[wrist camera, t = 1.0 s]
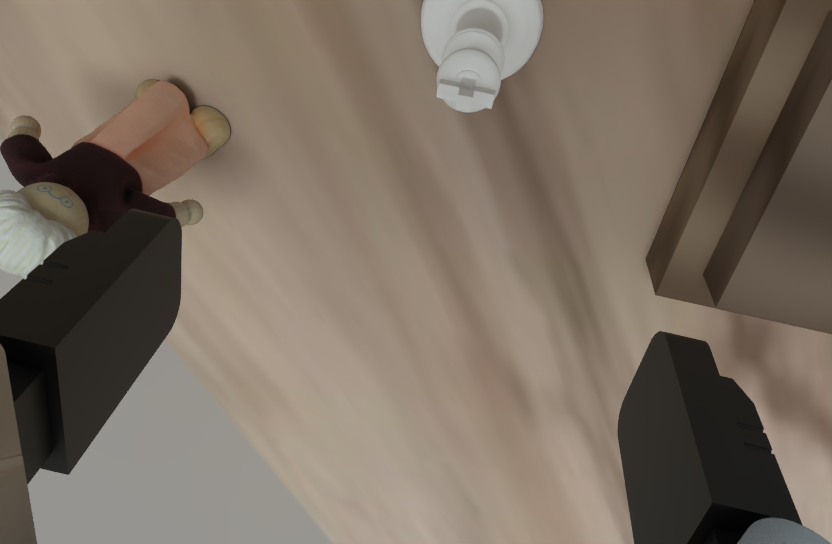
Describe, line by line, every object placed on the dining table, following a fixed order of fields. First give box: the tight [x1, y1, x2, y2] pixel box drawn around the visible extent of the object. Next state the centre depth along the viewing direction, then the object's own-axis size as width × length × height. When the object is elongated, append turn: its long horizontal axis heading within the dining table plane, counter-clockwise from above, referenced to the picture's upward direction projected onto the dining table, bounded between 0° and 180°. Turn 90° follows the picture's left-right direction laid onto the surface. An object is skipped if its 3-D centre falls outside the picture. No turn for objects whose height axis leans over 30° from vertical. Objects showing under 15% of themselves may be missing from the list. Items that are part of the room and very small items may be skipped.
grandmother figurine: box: [0, 80, 230, 279], centre depth 28 cm, size 8×4×13 cm, turn 72°
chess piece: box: [421, 0, 543, 113], centre depth 25 cm, size 5×5×10 cm
